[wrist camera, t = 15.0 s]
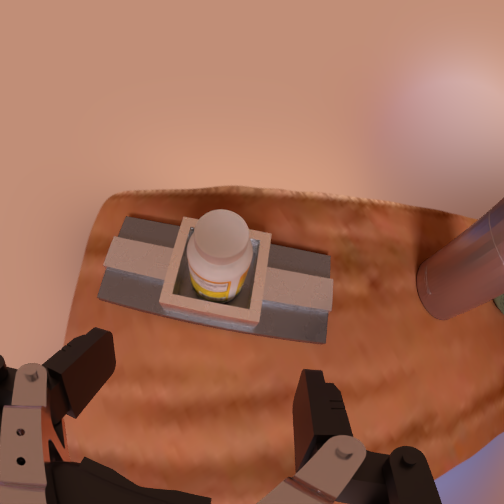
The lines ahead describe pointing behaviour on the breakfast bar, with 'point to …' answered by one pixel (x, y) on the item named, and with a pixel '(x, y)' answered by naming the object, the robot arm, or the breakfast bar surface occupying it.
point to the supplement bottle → (219, 255)
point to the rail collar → (229, 313)
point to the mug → (500, 302)
